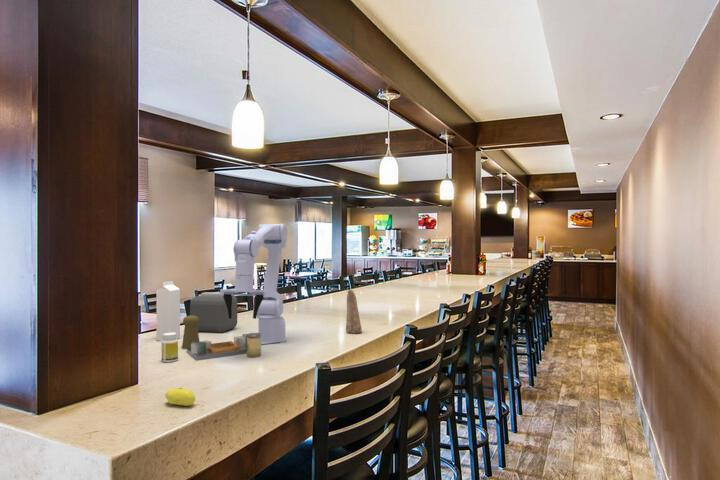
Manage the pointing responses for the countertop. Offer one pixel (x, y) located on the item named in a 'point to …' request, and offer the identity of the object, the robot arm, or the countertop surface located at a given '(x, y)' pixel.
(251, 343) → the tan and grey cylinder
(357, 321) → the brown tapered stone
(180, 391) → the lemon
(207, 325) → the dark grey rounded block
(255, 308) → the robot arm
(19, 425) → the countertop surface
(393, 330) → the countertop surface
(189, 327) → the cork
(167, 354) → the supplement bottle
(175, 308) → the milk
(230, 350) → the bench plate
